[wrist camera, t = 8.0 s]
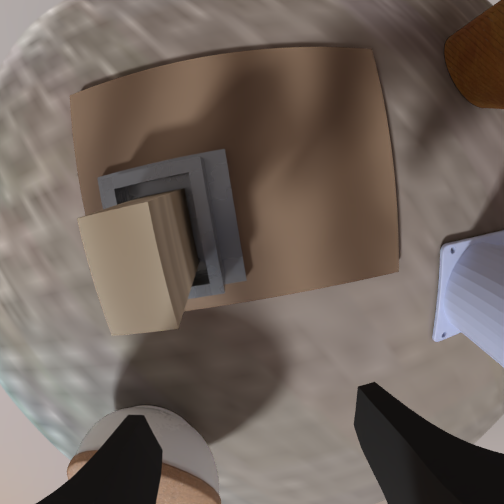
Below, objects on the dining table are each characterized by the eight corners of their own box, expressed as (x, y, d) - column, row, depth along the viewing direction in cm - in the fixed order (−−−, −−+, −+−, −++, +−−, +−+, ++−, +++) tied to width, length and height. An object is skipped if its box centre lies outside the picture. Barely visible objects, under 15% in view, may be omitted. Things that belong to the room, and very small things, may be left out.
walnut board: (366, 53, 15) (371, 49, 14) (392, 267, 18) (398, 271, 18) (75, 98, 14) (69, 95, 13) (119, 314, 18) (115, 320, 17)
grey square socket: (225, 149, 15) (223, 145, 12) (246, 276, 17) (249, 295, 14) (101, 177, 15) (80, 179, 12) (129, 295, 17) (114, 314, 14)
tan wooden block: (184, 187, 15) (147, 201, 8) (199, 263, 16) (178, 328, 9) (140, 197, 15) (77, 218, 8) (156, 270, 16) (112, 335, 9)
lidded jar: (80, 376, 19) (30, 463, 10) (214, 383, 20) (210, 496, 11) (117, 457, 22) (96, 532, 13) (226, 465, 22) (228, 549, 13)
